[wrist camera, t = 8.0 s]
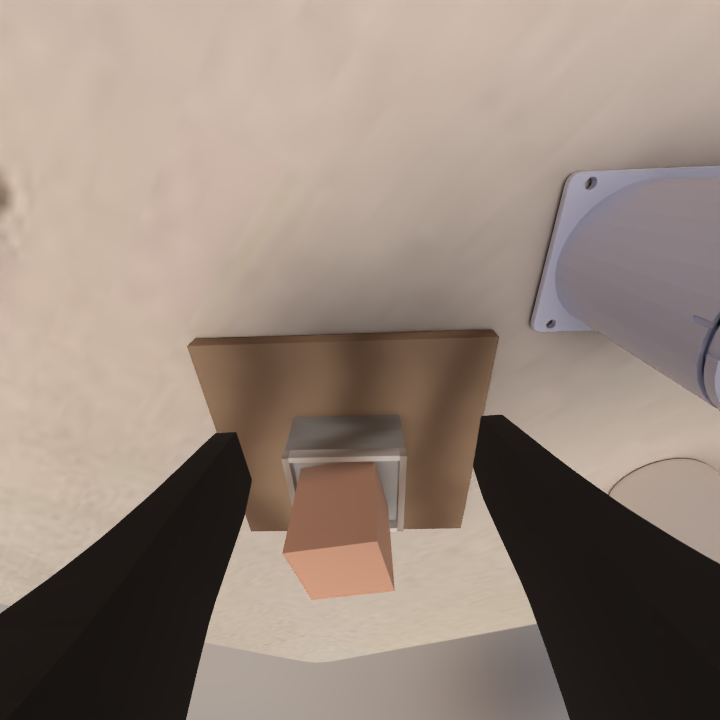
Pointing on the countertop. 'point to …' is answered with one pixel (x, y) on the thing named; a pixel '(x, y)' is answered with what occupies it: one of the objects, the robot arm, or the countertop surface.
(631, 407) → the countertop surface
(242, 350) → the wooden cutting board
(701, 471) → the mug
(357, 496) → the terracotta block
